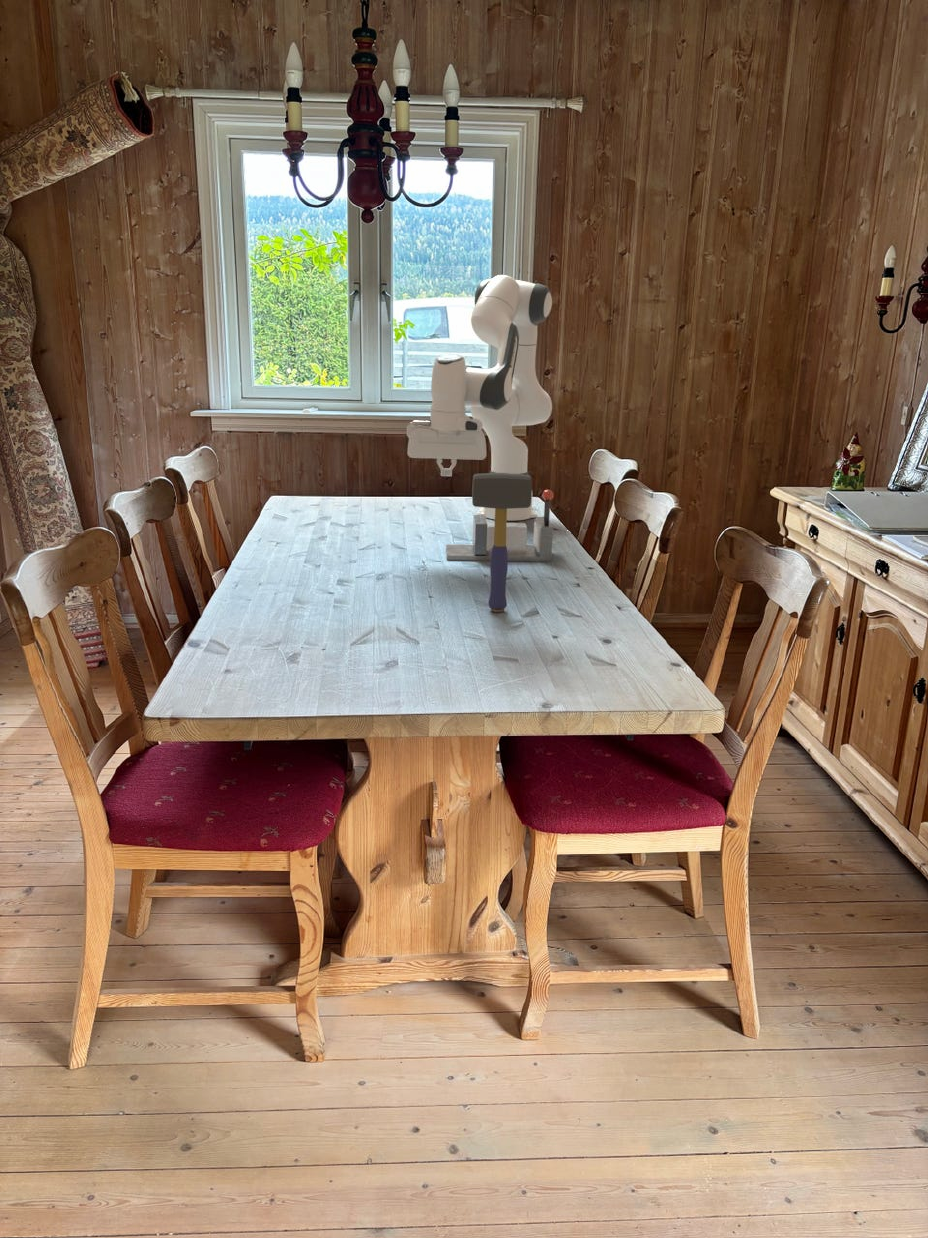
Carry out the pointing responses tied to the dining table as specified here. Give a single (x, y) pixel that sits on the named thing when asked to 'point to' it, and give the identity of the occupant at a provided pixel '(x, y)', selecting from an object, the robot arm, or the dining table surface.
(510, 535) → the block
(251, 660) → the dining table surface
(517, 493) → the rubber mallet
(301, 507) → the dining table surface
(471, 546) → the vise
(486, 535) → the block
